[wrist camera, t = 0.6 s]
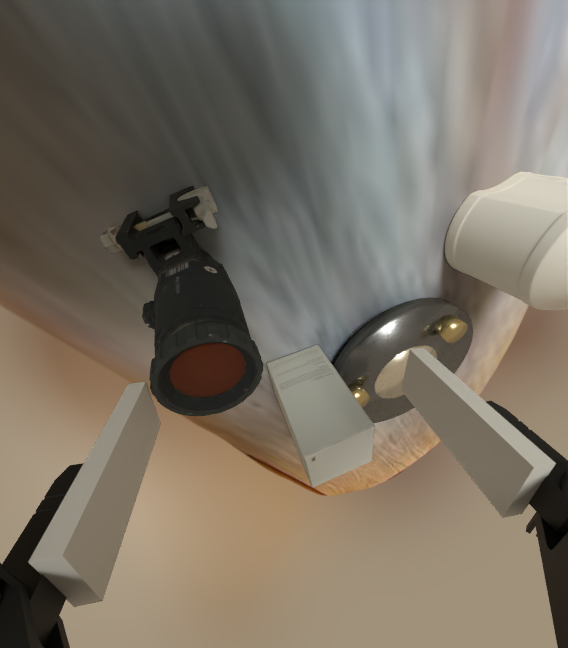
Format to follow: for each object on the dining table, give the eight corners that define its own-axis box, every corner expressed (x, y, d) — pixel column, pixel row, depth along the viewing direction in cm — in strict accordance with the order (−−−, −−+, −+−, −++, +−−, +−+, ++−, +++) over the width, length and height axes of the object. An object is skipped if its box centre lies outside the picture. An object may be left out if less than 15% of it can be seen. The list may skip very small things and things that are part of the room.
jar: (440, 277, 34) (574, 350, 23) (448, 202, 28) (636, 249, 17) (515, 242, 35) (682, 296, 24) (539, 162, 29) (778, 181, 18)
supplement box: (275, 397, 37) (310, 490, 28) (265, 361, 33) (302, 457, 23) (323, 379, 39) (373, 463, 29) (319, 342, 34) (377, 426, 24)
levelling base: (324, 316, 32) (347, 344, 27) (472, 276, 36) (512, 295, 32) (323, 421, 45) (338, 451, 41) (432, 383, 49) (456, 406, 45)
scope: (238, 230, 10) (305, 387, 16) (203, 179, 20) (252, 285, 27) (18, 328, 9) (179, 451, 15) (101, 223, 20) (176, 321, 26)
